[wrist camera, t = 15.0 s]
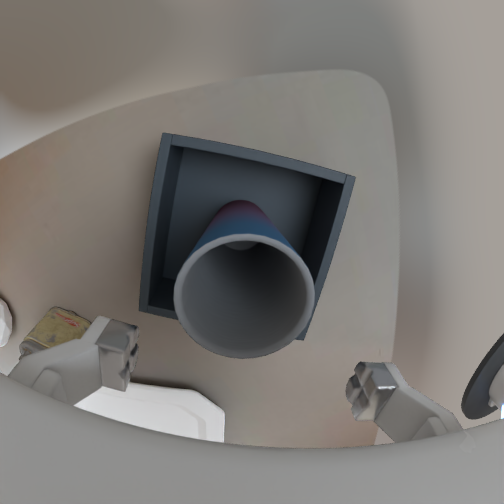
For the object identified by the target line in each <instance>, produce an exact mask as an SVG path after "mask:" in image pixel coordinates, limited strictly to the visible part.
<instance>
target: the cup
mask: <svg viewBox="0 0 504 504" xmlns="http://www.w3.org/2000/svg"><path fill="white" fill-rule="evenodd" d="M173 300H174V306H175V312H176V314H177V317H178V319H179V322H180V324H181V325H182V327H183V328H184V330H185V331H186V333H187V334H188V335H189V336H190V337H191V338H192V339H193V340H194V341H195V342H196V343H198V344H199V345H201V346H202V347H204V348H205V349H207V350H209V351H211V352H213V353H216V354H218V355H222V356H226V357H230V358H239V359H245V358H256V357H261V356H266V355H268V354H271V353H274V352H276V351H278V350H280V349H282V348H283V347H285V346H287V345H288V344H290V343H291V342H292V341H293V340H294V339H295V338H296V337H298V335H299V334H300V333H301V332H302V330H303V329H304V328H305V327H306V325H307V323H308V321H309V319H310V317H311V314H312V310H313V307H314V300H315V289H314V283H313V279H312V276H311V274H310V271H309V269H308V267H307V266H306V264H305V263H304V261H303V260H302V259H301V257H300V256H299V255H298V253H297V252H296V251H295V250H294V249H293V247H292V246H291V245H290V244H289V242H288V241H287V240H286V239H285V238H284V236H283V235H282V234H281V233H280V231H279V230H278V229H277V228H276V227H275V225H274V224H273V223H272V222H271V221H270V219H269V218H268V217H267V216H266V215H265V213H264V212H263V211H262V210H261V209H260V208H259V207H258V206H257V205H256V204H254V203H252V202H250V201H246V200H235V201H231V202H229V203H227V204H225V205H224V206H223V207H221V209H220V210H219V211H218V212H217V214H216V215H215V217H214V218H213V220H212V221H211V223H210V224H209V226H208V227H207V229H206V230H205V232H204V233H203V235H202V236H201V238H200V239H199V241H198V242H197V244H196V245H195V247H194V249H193V250H192V252H191V253H190V255H189V256H188V258H187V259H186V261H185V263H184V264H183V266H182V268H181V270H180V271H179V273H178V275H177V279H176V282H175V286H174V298H173Z"/></svg>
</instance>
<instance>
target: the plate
mask: <svg viewBox="0 0 504 504" xmlns="http://www.w3.org/2000/svg"><path fill="white" fill-rule="evenodd" d="M74 406H75V407H78V408H81V409H84V410H86V411H89V412H92V413H95V414H98V415H101V416H104V417H108V418H111V419H114V420H117V421H121V422H124V423H128V424H132V425H135V426H139V427H143V428H147V429H151V430H155V431H160V432H164V433H169V434H174V435H179V436H184V437H190V438H195V439H201V440H208V441H215V442H222V443H224V428H225V413H224V411H223V409H221V408H220V407H218V406H217V405H215V404H214V403H213V402H211V401H210V400H208V399H207V398H206V397H204V396H203V395H201V394H200V393H199V392H197V391H194V390H189V389H179V388H170V387H161V386H153V385H146V384H139V383H133V382H129V384H128V386H127V389H126V391H125V392H122V391H118V390H115V389H111V388H107V387H104V386H102V388H100V389H98V390H97V391H95V392H94V393H92V394H91V395H89V396H88V397H86V398H84V399H83V400H81V401H80V402H78V403H77V404H75V405H74Z"/></svg>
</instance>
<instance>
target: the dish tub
mask: <svg viewBox="0 0 504 504" xmlns="http://www.w3.org/2000/svg"><path fill="white" fill-rule="evenodd" d="M355 178H356V177H354V176H351V175H348V174H345V173H341V172H338V171H335V170H331V169H328V168H324V167H321V166H317V165H314V164H310V163H306V162H303V161H299V160H295V159H291V158H287V157H283V156H279V155H275V154H271V153H267V152H262V151H258V150H254V149H249V148H245V147H240V146H235V145H230V144H225V143H220V142H215V141H210V140H204V139H199V138H193V137H187V136H181V135H175V134H168V133H163V134H162V138H161V143H160V148H159V153H158V158H157V163H156V169H155V174H154V180H153V186H152V192H151V199H150V205H149V212H148V220H147V227H146V235H145V244H144V253H143V263H142V273H141V285H140V299H139V311H141V312H145V313H147V312H148V313H149V314H154V315H158V316H163V317H167V318H172V319H177V320H179V319H178V317H177V314H176V312H175V306H174V300H173V298H174V286H175V282H176V279H177V275H178V273H179V271H180V270H181V268H182V266H183V264H184V263H185V261H186V259H187V258H188V256H189V255H190V253H191V252H192V250H193V249H194V247H195V245H196V244H197V242H198V241H199V239H200V238H201V236H202V235H203V233H204V232H205V230H206V229H207V227H208V226H209V224H210V223H211V221H212V220H213V218H214V217H215V215H216V214H217V212H218V211H219V210H220V209H221V207H223V206H224V205H225V204H227V203H229V202H231V201H235V200H246V201H250V202H252V203H254V204H256V205H257V206H258V207H259V208H260V209H261V210H262V211H263V212H264V213H265V215H266V216H267V217H268V218H269V219H270V221H271V222H272V223H273V224H274V225H275V227H276V228H277V229H278V230H279V231H280V233H281V234H282V235H283V236H284V238H285V239H286V240H287V241H288V242H289V244H290V245H291V246H292V247H293V249H294V250H295V251H296V252H297V253H298V255H299V256H300V257H301V259H302V260H303V261H304V263H305V264H306V266H307V267H308V269H309V271H310V274H311V276H312V279H313V283H314V289H315V300H314V307H313V310H312V314H311V317H310V319H309V321H308V323H307V325H306V327H305V328H304V329H303V330H302V332H301V333H300V334H299V335H298V337H296V338H295V339H296V340H304V338H305V336H306V333H307V330H308V327H309V325H310V322H311V319H312V317H313V314H314V311H315V308H316V305H317V302H318V300H319V297H320V294H321V291H322V288H323V285H324V282H325V279H326V276H327V273H328V270H329V267H330V264H331V261H332V258H333V254H334V251H335V248H336V245H337V242H338V238H339V235H340V232H341V228H342V225H343V221H344V218H345V215H346V211H347V208H348V204H349V200H350V197H351V193H352V189H353V186H354V182H355Z"/></svg>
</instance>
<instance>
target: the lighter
mask: <svg viewBox="0 0 504 504" xmlns="http://www.w3.org/2000/svg"><path fill="white" fill-rule="evenodd" d="M90 325H91V323H90V322H89V321H87V320H86V319H83V318H81V317H79V316H77V315H76V314H75V313H74V312H73V311H68V312H67V311H65V310H63V309H61V308H58V307H53V308H51V309H50V311H49V312H48V313H47V314H46V315H45V316H44V318H43V319H42V320H41V321H40V322H39V323H38V324H37V325H36V326H35V327H34V328H33V329H32V330H31V332H30V333H29V334H28V335H27V336H26V337H25V338H24V340H23V342H22V343H21V344H20V346H19V349H20V353H21V356H20V358H19V360H21V359H22V358H23V357H24V356H27V355H30V354H33V353H36V352H39V351H42V350H45V349H48V348H51V347H53V346H56V345H59V344H62V343H65V342H68V341H71V340H73V339H76V338H77V339H81V337H82V336H83V335H84V333H85V332H86V331H87V329H88V328H89V326H90Z"/></svg>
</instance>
